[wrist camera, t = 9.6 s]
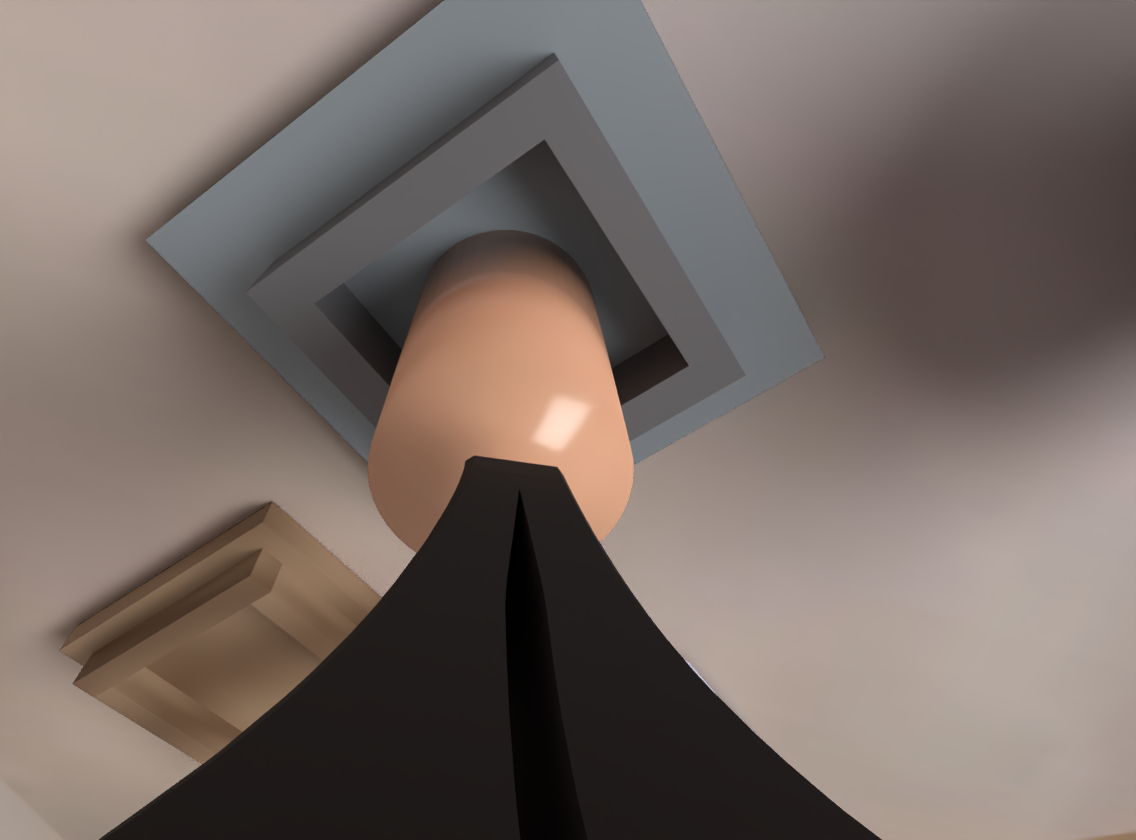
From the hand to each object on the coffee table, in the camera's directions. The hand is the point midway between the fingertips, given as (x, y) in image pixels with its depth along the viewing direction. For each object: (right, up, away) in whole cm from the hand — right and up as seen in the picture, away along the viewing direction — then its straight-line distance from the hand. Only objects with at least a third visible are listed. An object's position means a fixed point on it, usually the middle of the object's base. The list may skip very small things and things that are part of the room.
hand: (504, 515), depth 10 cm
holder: (-9, -7, +14) cm, 18 cm away
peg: (-1, +4, +7) cm, 8 cm away
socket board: (-1, +5, +8) cm, 10 cm away
